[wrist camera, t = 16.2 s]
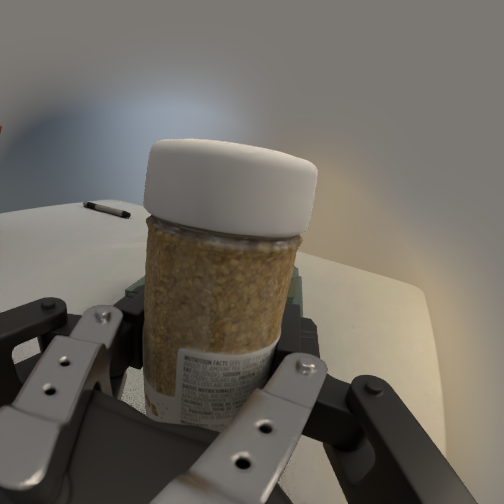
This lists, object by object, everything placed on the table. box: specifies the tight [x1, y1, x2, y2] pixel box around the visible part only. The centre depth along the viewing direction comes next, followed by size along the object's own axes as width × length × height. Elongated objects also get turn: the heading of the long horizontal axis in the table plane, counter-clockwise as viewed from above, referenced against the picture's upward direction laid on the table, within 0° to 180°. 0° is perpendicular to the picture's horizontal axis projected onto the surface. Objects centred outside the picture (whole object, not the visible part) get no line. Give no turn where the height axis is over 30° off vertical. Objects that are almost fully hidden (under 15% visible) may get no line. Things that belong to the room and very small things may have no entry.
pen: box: [83, 201, 131, 218], centre depth 58 cm, size 1×16×1 cm, turn 67°
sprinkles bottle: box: [142, 139, 318, 432], centre depth 10 cm, size 5×5×14 cm
